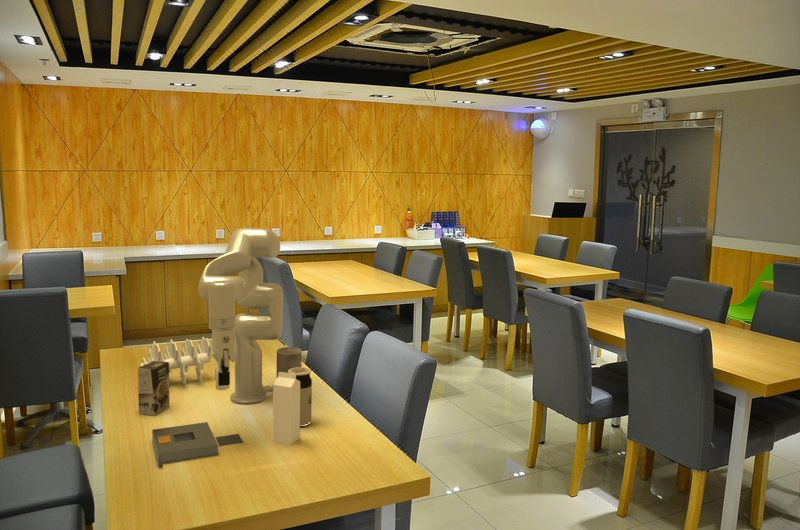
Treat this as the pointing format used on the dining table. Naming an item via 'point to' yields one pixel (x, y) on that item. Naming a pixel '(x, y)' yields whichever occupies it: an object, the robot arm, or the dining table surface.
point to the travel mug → (304, 392)
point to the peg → (217, 377)
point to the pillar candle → (288, 359)
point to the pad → (229, 440)
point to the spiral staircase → (187, 358)
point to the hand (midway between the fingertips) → (222, 382)
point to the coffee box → (153, 387)
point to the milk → (286, 408)
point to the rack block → (183, 443)
